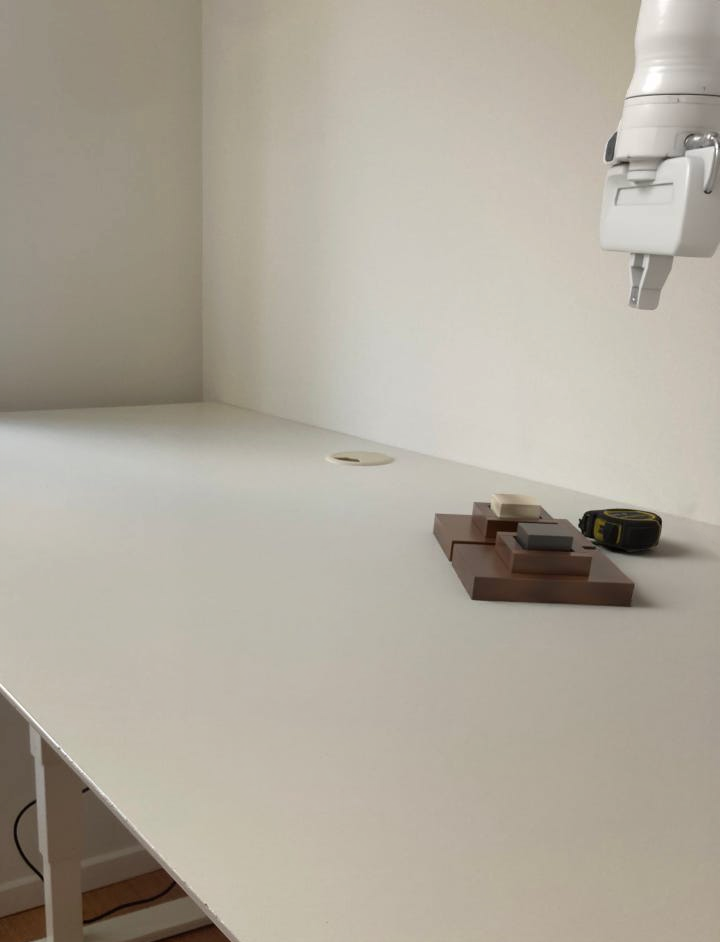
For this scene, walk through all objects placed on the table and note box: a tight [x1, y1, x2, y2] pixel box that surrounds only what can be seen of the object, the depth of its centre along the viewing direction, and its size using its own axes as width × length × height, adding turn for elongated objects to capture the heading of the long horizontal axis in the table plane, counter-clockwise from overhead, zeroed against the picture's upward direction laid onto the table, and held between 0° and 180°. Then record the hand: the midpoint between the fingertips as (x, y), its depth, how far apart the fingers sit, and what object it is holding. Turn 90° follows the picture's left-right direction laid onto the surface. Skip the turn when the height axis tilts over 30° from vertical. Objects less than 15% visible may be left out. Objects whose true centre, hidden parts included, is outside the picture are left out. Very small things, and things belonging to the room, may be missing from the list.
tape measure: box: [577, 508, 663, 553], centre depth 106 cm, size 7×7×4 cm
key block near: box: [451, 532, 636, 608], centre depth 94 cm, size 14×10×4 cm
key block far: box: [432, 501, 597, 563], centre depth 104 cm, size 14×10×4 cm
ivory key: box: [490, 493, 542, 519], centre depth 103 cm, size 4×4×2 cm
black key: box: [516, 523, 573, 552], centre depth 93 cm, size 4×4×2 cm
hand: (641, 308), depth 93 cm, fingers closed
